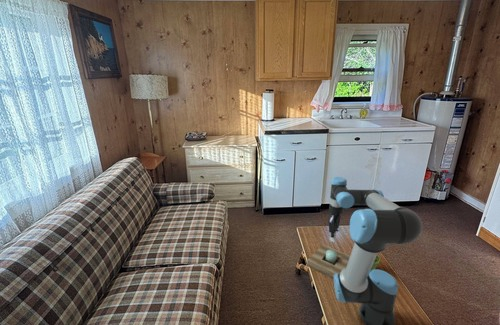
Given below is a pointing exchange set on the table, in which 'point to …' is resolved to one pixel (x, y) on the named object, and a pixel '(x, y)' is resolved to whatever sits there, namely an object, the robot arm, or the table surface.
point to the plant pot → (375, 263)
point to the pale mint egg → (331, 256)
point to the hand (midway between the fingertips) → (332, 240)
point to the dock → (324, 267)
